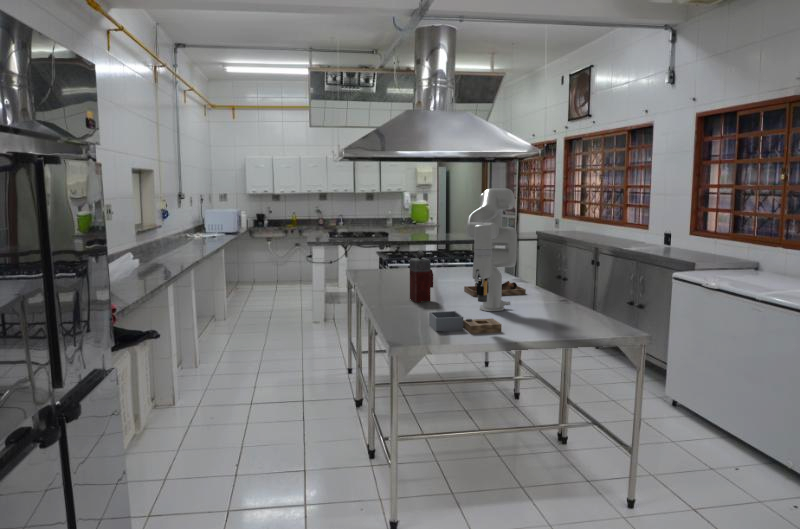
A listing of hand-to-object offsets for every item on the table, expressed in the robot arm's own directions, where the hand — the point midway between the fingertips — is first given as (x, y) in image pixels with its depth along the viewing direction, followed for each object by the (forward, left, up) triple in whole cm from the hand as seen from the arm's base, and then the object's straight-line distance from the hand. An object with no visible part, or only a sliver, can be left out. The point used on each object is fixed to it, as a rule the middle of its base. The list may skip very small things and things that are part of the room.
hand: (482, 293), depth 249 cm
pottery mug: (-44, -79, -17) cm, 92 cm away
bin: (+15, -7, -16) cm, 23 cm away
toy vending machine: (+11, -69, -16) cm, 71 cm away
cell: (0, 0, -3) cm, 3 cm away
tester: (0, 0, -16) cm, 16 cm away
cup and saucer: (-28, -80, -17) cm, 87 cm away
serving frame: (-36, -81, -16) cm, 90 cm away
